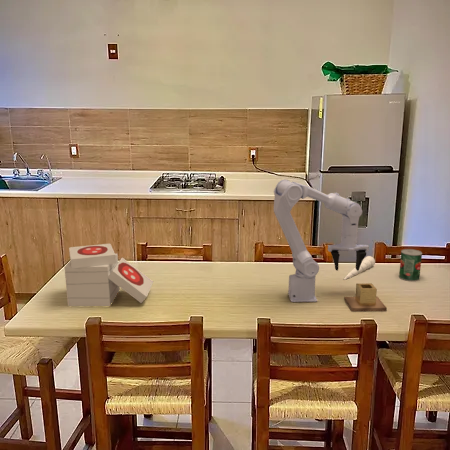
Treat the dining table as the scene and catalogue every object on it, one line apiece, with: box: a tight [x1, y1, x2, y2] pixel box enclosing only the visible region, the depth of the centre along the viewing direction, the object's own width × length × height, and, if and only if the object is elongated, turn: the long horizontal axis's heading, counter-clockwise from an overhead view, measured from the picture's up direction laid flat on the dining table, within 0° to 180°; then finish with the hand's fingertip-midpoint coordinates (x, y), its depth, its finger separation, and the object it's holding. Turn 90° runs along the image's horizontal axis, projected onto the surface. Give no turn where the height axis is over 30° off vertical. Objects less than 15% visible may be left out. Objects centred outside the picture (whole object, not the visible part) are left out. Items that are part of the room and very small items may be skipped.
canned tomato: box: [398, 248, 423, 282], centre depth 196 cm, size 8×8×11 cm
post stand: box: [343, 295, 388, 312], centre depth 170 cm, size 12×10×4 cm
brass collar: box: [354, 282, 378, 306], centre depth 169 cm, size 6×6×6 cm
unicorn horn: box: [343, 255, 376, 280], centre depth 203 cm, size 5×24×5 cm, turn 135°
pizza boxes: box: [64, 243, 154, 307], centre depth 175 cm, size 19×30×18 cm, turn 89°
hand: (346, 269), depth 179 cm, fingers open, 7 cm apart
